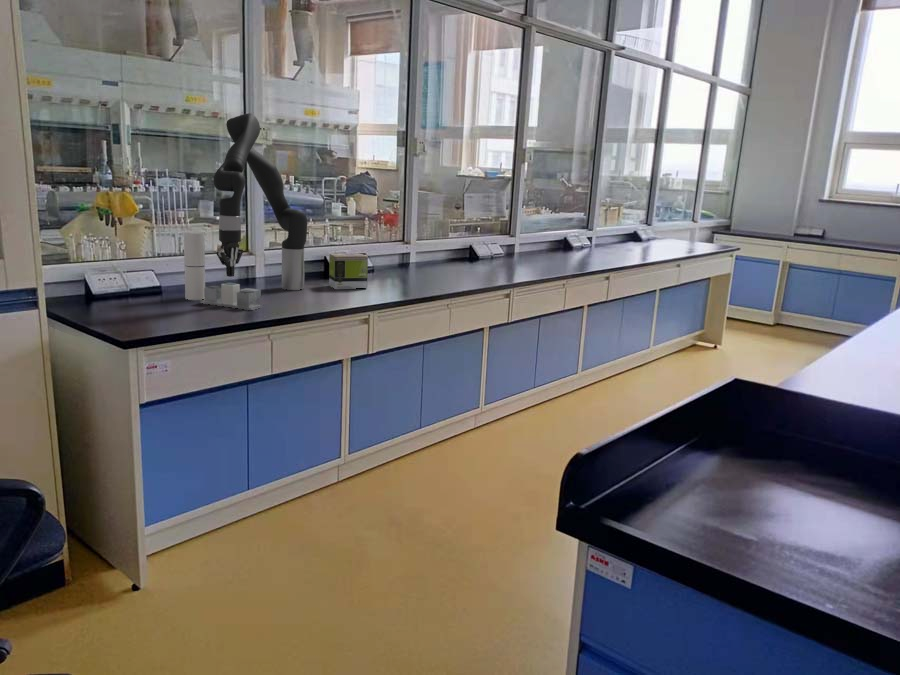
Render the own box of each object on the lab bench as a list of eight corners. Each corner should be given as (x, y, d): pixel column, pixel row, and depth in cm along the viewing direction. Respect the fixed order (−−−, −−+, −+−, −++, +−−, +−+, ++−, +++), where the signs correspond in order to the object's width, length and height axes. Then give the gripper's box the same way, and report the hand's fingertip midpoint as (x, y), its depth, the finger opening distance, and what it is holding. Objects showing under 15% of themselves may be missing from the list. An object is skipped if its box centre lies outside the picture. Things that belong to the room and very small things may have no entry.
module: (228, 301, 255) (228, 282, 253) (239, 303, 253) (239, 283, 251) (221, 303, 251) (221, 283, 249) (233, 304, 250) (232, 285, 248)
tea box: (361, 285, 312) (362, 253, 309) (367, 289, 303) (368, 256, 300) (328, 285, 306) (329, 252, 303) (333, 289, 297) (334, 255, 294)
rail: (210, 300, 258) (210, 284, 257) (261, 308, 252) (261, 291, 250) (200, 303, 253) (200, 286, 251) (251, 310, 246) (251, 293, 245)
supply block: (247, 296, 272) (247, 287, 271) (260, 298, 270) (260, 289, 269) (238, 299, 266) (238, 290, 265) (251, 300, 264) (251, 292, 264)
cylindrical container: (186, 300, 256) (185, 233, 250) (184, 296, 262) (182, 230, 256) (206, 300, 259) (205, 233, 253) (203, 296, 265) (202, 231, 259)
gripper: (232, 226, 253) (232, 273, 257) (209, 228, 241) (209, 277, 245) (249, 228, 251) (250, 275, 255) (227, 230, 238) (227, 279, 243)
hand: (230, 276), depth 250 cm, fingers closed
